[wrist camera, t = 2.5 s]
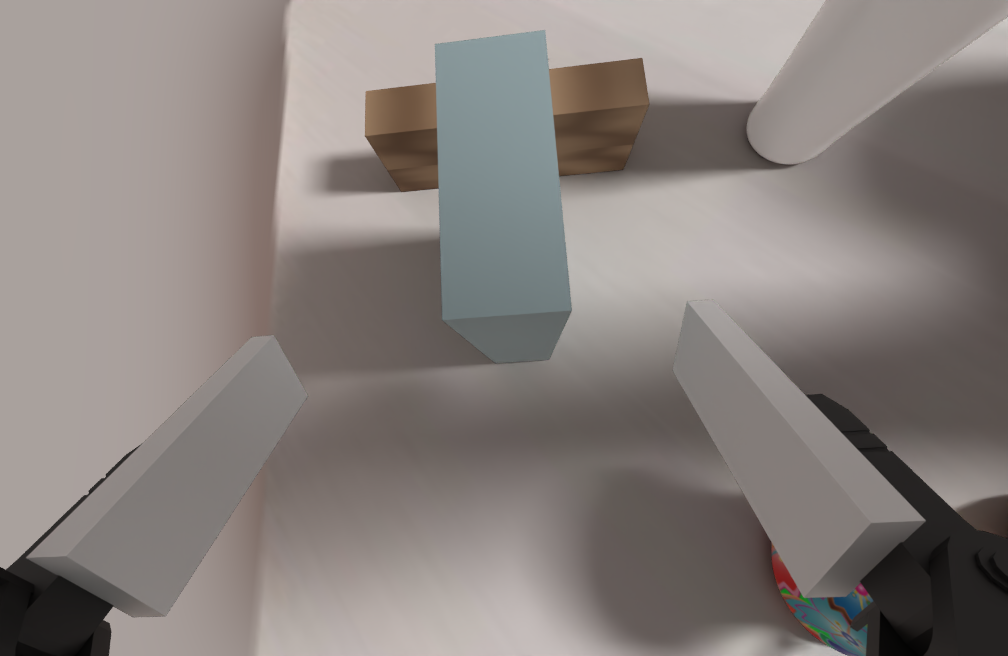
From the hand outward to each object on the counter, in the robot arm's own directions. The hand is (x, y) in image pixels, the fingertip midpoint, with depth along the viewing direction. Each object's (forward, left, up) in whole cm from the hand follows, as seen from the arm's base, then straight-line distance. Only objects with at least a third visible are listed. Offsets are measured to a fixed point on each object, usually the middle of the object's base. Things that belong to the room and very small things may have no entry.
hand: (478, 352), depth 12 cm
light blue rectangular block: (-1, -5, -12) cm, 13 cm away
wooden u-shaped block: (-1, -15, -12) cm, 19 cm away
